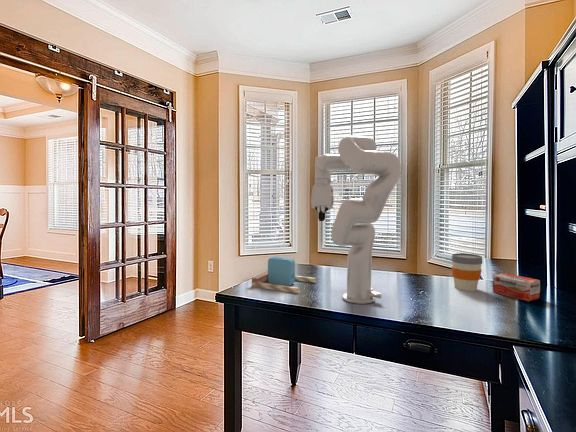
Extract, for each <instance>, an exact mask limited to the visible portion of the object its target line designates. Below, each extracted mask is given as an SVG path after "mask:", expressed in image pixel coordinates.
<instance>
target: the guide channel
mask: <svg viewBox="0 0 576 432" xmlns="http://www.w3.org/2000/svg"><path fill="white" fill-rule="evenodd" d="M295 281H299V282H305V283H314V284H316V283H317V277H312V276H311V277H310V276H302V275H295ZM251 287H252V288H253V287H254V288H259V289H260V288H261V289H267V290H272V291H273V290H274V291H280V292H287V293H293V294H300V293H301V289H300V287H297V286H291V285H289V286H285V285H278V284H271V283H269V282H268V270H267V271H265V272H262V273H260V274H257V275H255V276H253V277H251Z"/></svg>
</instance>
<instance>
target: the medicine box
mask: <svg viewBox="0 0 576 432" xmlns="http://www.w3.org/2000/svg"><path fill="white" fill-rule="evenodd" d="M492 280H493V282H492V292H493V293H494V294H498V295H502V296H507V297H510V298H514V299H518V300H522V301H525V302H530V301H534V300H538V299H539V298H540V295H541V294H540V293H541V280H540V279H535V278H531V277H527V276H521V275H516V274H511V273H506V272H505V273H499V274H494V275H493V279H492Z"/></svg>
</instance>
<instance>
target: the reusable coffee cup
mask: <svg viewBox="0 0 576 432" xmlns="http://www.w3.org/2000/svg"><path fill="white" fill-rule="evenodd" d="M451 262H452V263H451V264H452V266H451V273H452V277H453V284H454V289H456V290H458V291H463V292H475V291H477V289H478V284H479V280H480V279H481V274H482V269H481V268H482V264H483V256H482V255H479V254H473V253H465V252H464V253H463V252H462V253H461V252H460V253H459V252H457V253H453V254H452V255H451Z"/></svg>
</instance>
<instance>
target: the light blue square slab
mask: <svg viewBox="0 0 576 432" xmlns="http://www.w3.org/2000/svg"><path fill="white" fill-rule="evenodd" d="M295 267H296V261H295V259H294V258H291V257H279V256H272V257H270V258H268V260H267V271H268V284H275V285H283V286H292V284H294V283H295V282H296V280H295V274H296V273H295V272H296V270H295Z"/></svg>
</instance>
